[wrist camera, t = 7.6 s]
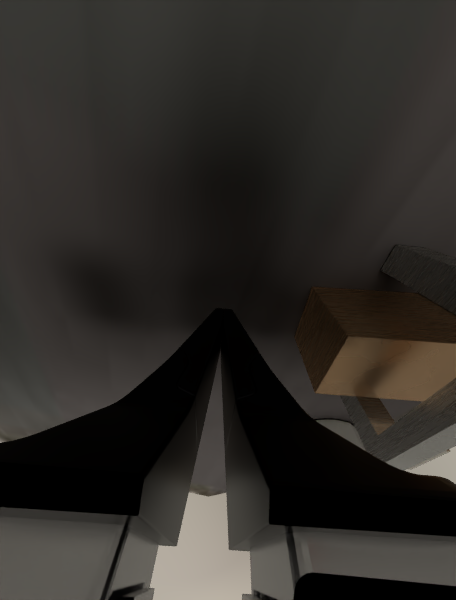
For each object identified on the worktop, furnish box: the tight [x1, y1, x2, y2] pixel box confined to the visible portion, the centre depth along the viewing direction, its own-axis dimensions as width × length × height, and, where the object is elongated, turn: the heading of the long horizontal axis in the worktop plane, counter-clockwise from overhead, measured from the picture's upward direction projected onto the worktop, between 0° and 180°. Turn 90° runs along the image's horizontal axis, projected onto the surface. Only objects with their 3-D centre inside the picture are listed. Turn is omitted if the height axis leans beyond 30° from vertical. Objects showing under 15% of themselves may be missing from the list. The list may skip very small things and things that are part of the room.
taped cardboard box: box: [294, 287, 456, 401], centre depth 8 cm, size 12×4×4 cm, turn 88°
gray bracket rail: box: [340, 245, 456, 471], centre depth 8 cm, size 7×11×5 cm, turn 175°
